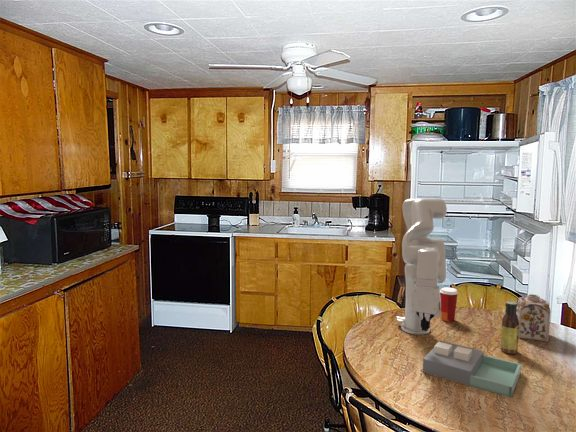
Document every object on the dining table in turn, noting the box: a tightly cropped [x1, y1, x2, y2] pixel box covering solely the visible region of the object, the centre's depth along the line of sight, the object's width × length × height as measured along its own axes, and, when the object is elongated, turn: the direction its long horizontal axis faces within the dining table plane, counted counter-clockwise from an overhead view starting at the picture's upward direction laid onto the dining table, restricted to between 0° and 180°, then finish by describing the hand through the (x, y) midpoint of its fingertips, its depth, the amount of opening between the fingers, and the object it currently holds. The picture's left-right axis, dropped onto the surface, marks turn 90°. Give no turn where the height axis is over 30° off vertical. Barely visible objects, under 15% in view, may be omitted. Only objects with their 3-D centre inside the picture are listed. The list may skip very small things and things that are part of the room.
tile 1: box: [433, 341, 452, 356], centre depth 157 cm, size 5×5×2 cm
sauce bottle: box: [500, 301, 520, 355], centre depth 169 cm, size 7×6×20 cm
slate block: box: [422, 340, 485, 387], centre depth 156 cm, size 16×20×5 cm
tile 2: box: [454, 346, 472, 361], centre depth 153 cm, size 5×5×2 cm
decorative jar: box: [516, 293, 551, 343], centre depth 186 cm, size 12×12×18 cm
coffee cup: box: [440, 287, 459, 323], centre depth 205 cm, size 8×8×15 cm
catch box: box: [469, 354, 522, 398], centre depth 147 cm, size 12×20×4 cm, turn 144°
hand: (425, 329), depth 160 cm, fingers closed
